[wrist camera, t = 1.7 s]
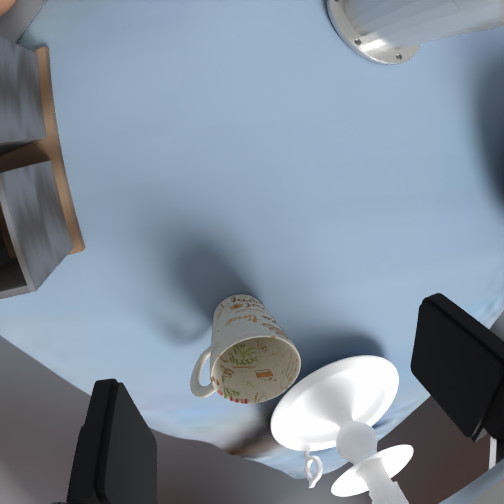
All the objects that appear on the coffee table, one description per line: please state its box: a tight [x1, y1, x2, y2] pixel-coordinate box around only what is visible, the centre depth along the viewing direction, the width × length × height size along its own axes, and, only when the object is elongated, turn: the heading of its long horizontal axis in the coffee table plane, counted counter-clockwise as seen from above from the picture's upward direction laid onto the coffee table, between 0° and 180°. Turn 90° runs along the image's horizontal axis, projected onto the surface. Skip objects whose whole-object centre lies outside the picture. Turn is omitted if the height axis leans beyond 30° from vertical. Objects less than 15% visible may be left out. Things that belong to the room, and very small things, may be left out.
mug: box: [190, 294, 301, 404], centre depth 33 cm, size 8×13×10 cm, turn 134°
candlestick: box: [271, 355, 413, 504], centre depth 33 cm, size 21×25×28 cm
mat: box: [0, 0, 47, 43], centre depth 18 cm, size 11×11×1 cm
